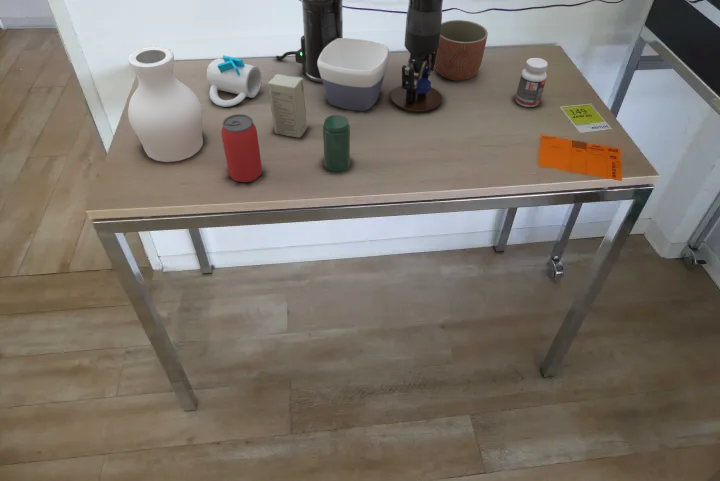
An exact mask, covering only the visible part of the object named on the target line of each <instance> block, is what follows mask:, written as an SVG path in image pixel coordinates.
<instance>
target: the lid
mask: <svg viewBox="0 0 720 481" xmlns="http://www.w3.org/2000/svg"><path fill="white" fill-rule="evenodd" d="M414 82H415V79H414ZM431 87H432V81H431V80H430V79H429V78H428V79H427V78H424V77H422V78H421V80H419V82H418V86H417V92H416V93H418V94H423V93H427V92H429V91H430V89H431Z"/></svg>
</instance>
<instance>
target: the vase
mask: <svg viewBox="0 0 720 481" xmlns="http://www.w3.org/2000/svg"><path fill="white" fill-rule="evenodd" d="M128 64H129V67H130V69H131V70H132V71H133V72H134V74H135V76H136V77H137V80H138V85H137V87H136V89H135V91H134V92H133V94H132V96H131V97H130V99H129V103H128V109H127V117H128V121H129V124H130V126H131V128H132V130H133V132H134V133H135V135H136V137H137V138H138V139H139V141H140V143H141V145H142V147H143V149H144V152H145V153H146V155H147V157H149V158H151V159H152V160H154V161H157V162H162V163H163V162H164V163H172V162H180V161H183V160H186V159H189V158H191V157H192V156H194V155H195V154H197V153H198V152H199V151H200V150H201V149H202V147H203V144H204V142H203V141H204V140H203V139H204V138H203V109H202V104H201V102H200V99H199V98H198V96H197V95H196V94H195V93H194V92H193V90H192V89H191V88H190V87H189V86H187V85H185V84H184V83H183V82H181V81H180V80H178V79H177V78H176V75H175V73H174V66H175V55H174V53H173V51H172V50H171V49H169V48H167V47H164V46H163V47H162V46H147V47H143V48H140V49H138V50H135V51H133V52H132V53H131V54H130V55H129V56H128Z"/></svg>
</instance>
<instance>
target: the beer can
mask: <svg viewBox="0 0 720 481" xmlns="http://www.w3.org/2000/svg"><path fill="white" fill-rule="evenodd" d="M221 139H222V144H223V149H224V155H225V160H226V165H227V171H228V175H229V177H230V178H231V179H232V180H234V181H235V182H238V183H250V182H253V181H255V180H257V179H258V178H260V176H261V175H262V172H263V166H262V160H261V159H262V158H261V153H260V152H261V151H260V145H259V137H258V131H257V127H256V124H255V123H254V120H253V118H252V117H250V116H249V115H247V114H243V113H237V114H231V115H229V116H227V117H226V118H224V119H223V121H222V127H221Z"/></svg>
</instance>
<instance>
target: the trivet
mask: <svg viewBox="0 0 720 481" xmlns="http://www.w3.org/2000/svg"><path fill="white" fill-rule="evenodd" d="M406 91H407V90H406V89H403V88H402V85H400V86H397V87H396V88H394V89H393V90H392V91H391V93H390V102H391V104H392V105H393V106H394V107H395V108H397V109H398V110H400V111H403V112H405V113H410V114H427V113H431V112H433V111H436V110H437V109H439V108H440V107H441V105H442V100H443V97H442V95H441V93H440V91H438V90H437V89H435V88H434V87H432V86H431V89H430V91H429V92H427V93H423V94H418V93H416V102H415V103H414V104H411V103H408V102H406Z"/></svg>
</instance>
